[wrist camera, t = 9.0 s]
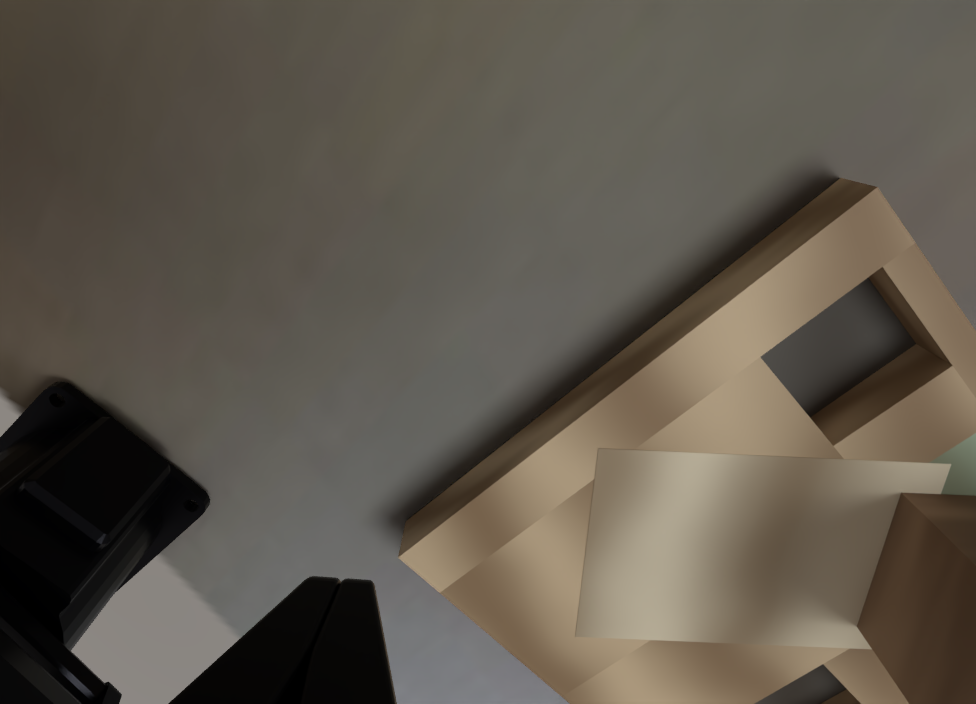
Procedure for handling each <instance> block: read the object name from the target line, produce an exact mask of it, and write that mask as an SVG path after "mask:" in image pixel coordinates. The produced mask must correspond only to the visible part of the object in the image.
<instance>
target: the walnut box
mask: <svg viewBox="0 0 976 704" xmlns="http://www.w3.org/2000/svg"><path fill="white" fill-rule="evenodd" d="M857 628H858V629H859V631H860V632H861V634H862V635H863V637H864V638H865V640H866V641H867V642H868V644H869V645H870V647H871V648H872V650H873V651H874V653H875V654H876V656H877V657H878V659H879V660H880V662H881V663H882V664H883V666H884V667H885V669H886V670H887V672H888V673H889V675H890V676H891V678H892V679H893V681H894V682H895V684H896V685H897V686H898V688H899V689H900V691H901V692H902V694H903V695H904V697H905V698H906V700H907V701H908V703H909V704H976V496H970V495H947V494H924V493H901V494H900V497H899V500H898V503H897V506H896V509H895V513H894V516H893V519H892V522H891V525H890V528H889V531H888V534H887V537H886V540H885V543H884V546H883V549H882V552H881V555H880V558H879V561H878V564H877V567H876V570H875V573H874V576H873V579H872V582H871V585H870V588H869V591H868V594H867V597H866V600H865V603H864V606H863V609H862V612H861V615H860V618H859V621H858V624H857Z"/></svg>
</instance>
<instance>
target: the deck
mask: <svg viewBox="0 0 976 704" xmlns="http://www.w3.org/2000/svg"><path fill="white" fill-rule="evenodd" d="M901 493H924V494H947V495H970V496H976V331H975V329H974V328H973V326H972V325H971V324H970V322H969V321H968V319H967V318H966V316H965V315H964V313H963V312H962V310H961V309H960V307H959V306H958V304H957V303H956V302H955V300H954V299H953V297H952V296H951V294H950V293H949V291H948V290H947V288H946V287H945V285H944V284H943V282H942V281H941V280H940V278H939V277H938V275H937V274H936V272H935V271H934V269H933V268H932V266H931V265H930V263H929V262H928V260H927V259H926V258H925V256H924V255H923V253H922V252H921V250H920V249H919V247H918V246H917V244H916V243H915V241H914V240H913V238H912V237H911V236H910V234H909V233H908V231H907V230H906V228H905V227H904V225H903V224H902V222H901V221H900V219H899V218H898V216H897V215H896V214H895V212H894V211H893V209H892V208H891V206H890V205H889V203H888V202H887V200H886V199H885V197H884V196H883V194H882V193H881V192H880V190H879V189H878V187H875V186H871V185H867V184H863V183H859V182H855V181H851V180H847V179H843V178H840V179H839V180H837V181H836V182H835V183H834V184H832V185H831V186H830V187H829V188H827V189H826V190H825V191H824V192H822V193H821V194H820V195H818V196H817V197H816V198H815V199H813V200H812V201H811V202H810V203H808V204H807V205H806V206H805V207H803V208H802V209H801V210H799V211H798V212H797V213H796V214H794V215H793V216H792V217H791V218H789V219H788V220H787V221H786V222H784V223H783V224H782V225H780V226H779V227H778V228H777V229H775V230H774V231H773V232H772V233H770V234H769V235H768V236H767V237H765V238H764V239H763V240H761V241H760V242H759V243H758V244H756V245H755V246H754V247H753V248H751V249H750V250H749V251H748V252H746V253H745V254H744V255H742V256H741V257H740V258H739V259H737V260H736V261H735V262H734V263H732V264H731V265H730V266H729V267H727V268H726V269H725V270H723V271H722V272H721V273H720V274H718V275H717V276H716V277H715V278H713V279H712V280H711V281H710V282H708V283H707V284H706V285H705V286H703V287H702V288H701V289H699V290H698V291H697V292H696V293H694V294H693V295H692V296H691V297H689V298H688V299H687V300H686V301H684V302H683V303H682V304H680V305H679V306H678V307H677V308H675V309H674V310H673V311H672V312H670V313H669V314H668V315H667V316H665V317H664V318H663V319H661V320H660V321H659V322H658V323H656V324H655V325H654V326H653V327H651V328H650V329H649V330H648V331H646V332H645V333H644V334H642V335H641V336H640V337H639V338H637V339H636V340H635V341H634V342H632V343H631V344H630V345H629V346H627V347H626V348H625V349H623V350H622V351H621V352H620V353H618V354H617V355H616V356H615V357H613V358H612V359H611V360H610V361H608V362H607V363H606V364H604V365H603V366H602V367H601V368H599V369H598V370H597V371H596V372H594V373H593V374H592V375H591V376H589V377H588V378H587V379H585V380H584V381H583V382H582V383H580V384H579V385H578V386H577V387H575V388H574V389H573V390H572V391H570V392H569V393H568V394H566V395H565V396H564V397H563V398H561V399H560V400H559V401H558V402H556V403H555V404H554V405H553V406H551V407H550V408H549V409H547V410H546V411H545V412H544V413H542V414H541V415H540V416H539V417H537V418H536V419H535V420H534V421H532V422H531V423H530V424H528V425H527V426H526V427H525V428H523V429H522V430H521V431H520V432H518V433H517V434H516V435H515V436H513V437H512V438H511V439H509V440H508V441H507V442H506V443H504V444H503V445H502V446H501V447H499V448H498V449H497V450H496V451H494V452H493V453H492V454H490V455H489V456H488V457H487V458H485V459H484V460H483V461H482V462H480V463H479V464H478V465H477V466H475V467H474V468H473V469H471V470H470V471H469V472H468V473H466V474H465V475H464V476H463V477H461V478H460V479H459V480H458V481H456V482H455V483H454V484H452V485H451V486H450V487H449V488H447V489H446V490H445V491H444V492H442V493H441V494H440V495H439V496H437V497H436V498H435V499H433V500H432V501H431V502H430V503H428V504H427V505H426V506H425V507H423V508H422V509H421V510H420V511H418V512H417V513H416V514H415V515H413V516H412V517H411V518H409V519H408V520H407V521H406V523H405V527H404V532H403V537H402V542H401V547H400V551H399V556H398V558H399V559H401V560H402V561H403V562H404V563H405V564H406V565H408V566H409V567H410V568H411V569H412V570H413V571H415V572H416V573H417V574H418V575H419V576H421V577H422V578H423V579H424V580H425V581H426V582H428V583H429V584H430V585H431V586H432V587H433V588H435V589H436V590H437V591H438V592H439V593H440V594H442V595H443V596H444V597H445V598H446V599H448V600H449V601H450V602H451V603H452V604H453V605H455V606H456V607H457V608H458V609H459V610H460V611H462V612H463V613H464V614H465V615H466V616H468V617H469V618H470V619H471V620H472V621H473V622H475V623H476V624H477V625H478V626H479V627H480V628H482V629H483V630H484V631H485V632H486V633H488V634H489V635H490V636H491V637H492V638H493V639H495V640H496V641H497V642H498V643H499V644H500V645H502V646H503V647H504V648H505V649H506V650H508V651H509V652H510V653H511V654H512V655H513V656H515V657H516V658H517V659H518V660H519V661H520V662H522V663H523V664H524V665H525V666H526V667H528V668H529V669H530V670H531V671H532V672H533V673H535V674H536V675H537V676H538V677H539V678H540V679H542V680H543V681H544V682H545V683H546V684H547V685H549V686H550V687H551V688H552V689H553V690H555V691H556V692H557V693H558V694H559V695H560V696H562V697H563V698H564V699H565V700H566V701H567V702H569V703H570V704H909V703H908V701H907V700H906V698H905V697H904V695H903V694H902V692H901V691H900V689H899V688H898V686H897V685H896V684H895V682H894V681H893V679H892V678H891V676H890V675H889V673H888V672H887V670H886V669H885V667H884V666H883V664H882V663H881V662H880V660H879V659H878V657H877V656H876V654H875V653H874V651H873V650H872V648H871V647H870V645H869V644H868V642H867V641H866V640H865V638H864V637H863V635H862V634H861V632H860V631H859V629H858V628H857V624H858V621H859V618H860V615H861V612H862V609H863V606H864V603H865V600H866V597H867V594H868V591H869V588H870V585H871V582H872V579H873V576H874V573H875V570H876V567H877V564H878V561H879V558H880V555H881V552H882V549H883V546H884V543H885V540H886V537H887V534H888V531H889V528H890V525H891V522H892V519H893V516H894V513H895V509H896V506H897V503H898V500H899V497H900V494H901Z"/></svg>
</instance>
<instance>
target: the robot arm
mask: <svg viewBox="0 0 976 704" xmlns="http://www.w3.org/2000/svg"><path fill="white" fill-rule="evenodd" d="M57 394H59V395H61V396H62V397H63V398H64V399H65V402H63V401H61V400H60V399H59V398H58V397H57ZM189 500H194V501H196V503H197V504H198V505H194V504H192V503H191V502H190V501H189ZM209 504H210V498H209V496H208V494H207V493H206V492H205V491H204V490H203V489H201V488H200V487H199V486H198V485H196V484H195V483H194V482H193V481H191V480H190V479H189V478H188V477H186V476H185V475H184V474H183V473H181V472H180V471H179V470H178V469H176V468H175V467H174V466H173V465H171V464H170V463H169V462H168V461H166V460H165V459H164V458H163V457H161V456H160V455H159V454H158V453H156V452H155V451H154V450H153V449H151V448H150V447H149V446H148V445H146V444H145V443H144V442H143V441H141V440H140V439H139V438H138V437H136V436H135V435H134V434H133V433H131V432H130V431H129V430H128V429H126V428H125V427H124V426H123V425H121V424H120V423H119V422H118V421H116V420H115V419H114V418H113V417H111V416H110V415H109V414H108V413H106V412H105V411H104V410H103V409H101V408H100V407H99V406H98V405H96V404H95V403H94V402H93V401H91V400H90V399H89V398H88V397H86V396H85V395H84V394H83V393H81V392H80V391H79V390H78V389H76V388H75V387H74V386H72V385H71V384H69V383H66V382H56V383H54V384H53V385H51V386H50V387H48V388H47V389H45V390H44V391H43V392H42V393H41V394H40V395H39V396H38V397H37V398H36V399H35V401H34V402H33V403H32V404H31V405H30V406H29V407H28V408H27V409H26V410H25V411H24V412H23V414H22V415H21V416H20V417H19V418H18V419H17V420H16V421H15V422H14V423H13V425H12V426H11V427H10V428H9V429H8V430H7V431H6V432H5V433H4V434H3V435H2V436H1V437H0V704H119V702H120V699H121V695H122V694H121V693H120V692H119V691H118V690H117V689H116V688H114V686H113V685H112V684H110V683H109V682H106V683H104V682H103V681H102V680H101V679H100V678H98V677H97V676H96V675H95V674H94V673H93V672H92V671H91V670H90V669H89V668H88V667H87V666H86V665H85V664H84V663H83V662H82V661H81V660H80V659H79V658H78V657H76V656H75V655H74V654H73V653H72V652H71V650H72V648H73V647H74V646H75V644H76V643H77V642H78V641H79V639H80V638H81V637H82V635H83V634H84V633H85V631H86V630H87V629H88V627H89V626H90V625H91V623H92V622H93V621H94V619H95V618H96V617H97V616H98V614H99V613H100V612H101V610H102V609H103V608H104V606H105V605H106V604H107V602H108V601H109V600H110V598H111V597H112V596H113V594H114V593H115V592H116V591H118V590H119V589H120V588H121V587H122V586H123V585H124V584H125V583H127V582H128V581H129V580H130V579H131V578H132V577H133V576H134V575H135V574H137V573H138V572H139V571H140V570H141V569H142V568H143V567H144V566H145V565H147V564H148V563H149V562H150V561H151V560H152V559H153V558H154V557H156V556H157V555H158V554H159V553H160V552H161V551H162V550H163V549H165V548H166V547H167V546H168V545H169V544H170V543H171V542H172V541H173V540H175V539H176V538H177V537H178V536H179V535H180V534H181V533H182V532H184V531H185V530H186V529H187V528H188V527H189V526H190V525H191V524H192V523H194V522H195V521H196V520H197V519H198V518H199V517H200V516H201V515H202V514H203V513H204V512H205V510H206V509H207V507H208V506H209ZM169 704H397V702H396V697H395V692H394V686H393V681H392V676H391V670H390V665H389V660H388V654H387V649H386V644H385V638H384V633H383V628H382V622H381V617H380V612H379V606H378V601H377V596H376V590H375V585H374V583H373V582H372V581H371V580H361V579H344V580H343V581H342V582H341V581H340V580H339V579H338V578H332V577H318V576H312V577H309V578H307V579H306V580H304V581H303V582H302V583H301V584H300V585H299V586H298V587H297V588H296V589H294V590H293V591H292V592H291V593H290V594H289V595H288V596H287V597H286V598H284V599H283V600H282V601H281V602H280V603H279V604H278V605H277V606H276V607H275V608H273V609H272V610H271V611H270V612H269V613H268V614H267V615H266V616H265V617H264V618H262V619H261V620H260V621H259V622H258V623H257V624H256V625H255V626H254V627H252V628H251V629H250V630H249V631H248V632H247V633H246V634H245V635H244V636H243V637H241V638H240V639H239V640H238V641H237V642H236V643H235V644H234V645H233V646H232V647H230V648H229V649H228V650H227V651H226V652H225V653H224V654H223V655H222V656H221V657H219V658H218V659H217V660H216V661H215V662H214V663H213V664H212V665H211V666H210V667H208V669H206V670H205V671H204V672H203V673H202V674H201V675H200V676H199V677H197V678H196V679H195V680H194V681H193V682H192V683H191V684H190V685H188V686H187V687H186V688H185V689H184V690H183V691H182V692H181V693H180V694H179V695H177V696H176V697H175V698H174V699H173V700H172V701H171V702H170V703H169Z"/></svg>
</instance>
